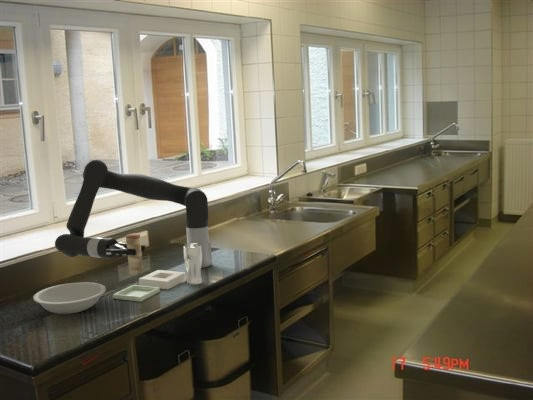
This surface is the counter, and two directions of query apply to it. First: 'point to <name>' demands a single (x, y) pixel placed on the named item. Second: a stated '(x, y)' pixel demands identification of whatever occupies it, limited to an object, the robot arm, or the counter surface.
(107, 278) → the counter surface
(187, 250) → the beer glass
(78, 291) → the soup bowl
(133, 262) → the wooden plug
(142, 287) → the green tray
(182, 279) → the socket block
